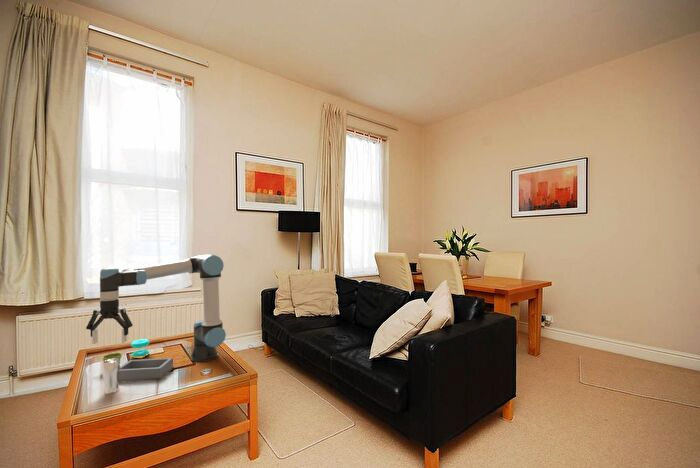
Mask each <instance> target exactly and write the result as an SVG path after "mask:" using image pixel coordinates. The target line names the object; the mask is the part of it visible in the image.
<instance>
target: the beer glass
mask: <svg viewBox="0 0 700 468" xmlns="http://www.w3.org/2000/svg"><path fill="white" fill-rule="evenodd" d="M120 364H121V362H120V363H119V359H118V358H114V359H108V360H105V361H103V362H102V373H101V374H102V379H103V382H104V390H103V394H104V395H110V394H114V393H117V392H118V391H120V390H119V389H120V387H119V382H118V378H119V372H120V367H121V365H120Z"/></svg>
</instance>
